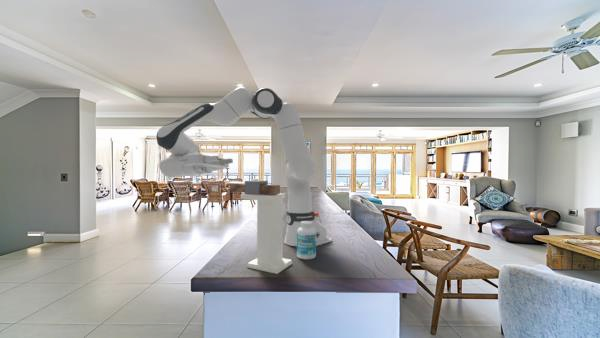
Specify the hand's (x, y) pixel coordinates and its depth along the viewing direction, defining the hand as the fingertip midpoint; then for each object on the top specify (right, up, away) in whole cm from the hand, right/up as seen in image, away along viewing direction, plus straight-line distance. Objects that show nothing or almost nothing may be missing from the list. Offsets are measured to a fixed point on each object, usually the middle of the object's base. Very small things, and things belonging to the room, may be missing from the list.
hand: (224, 159), depth 104 cm
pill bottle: (+31, -38, 0) cm, 49 cm away
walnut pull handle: (+12, -12, -6) cm, 19 cm away
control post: (+17, -38, -8) cm, 42 cm away
